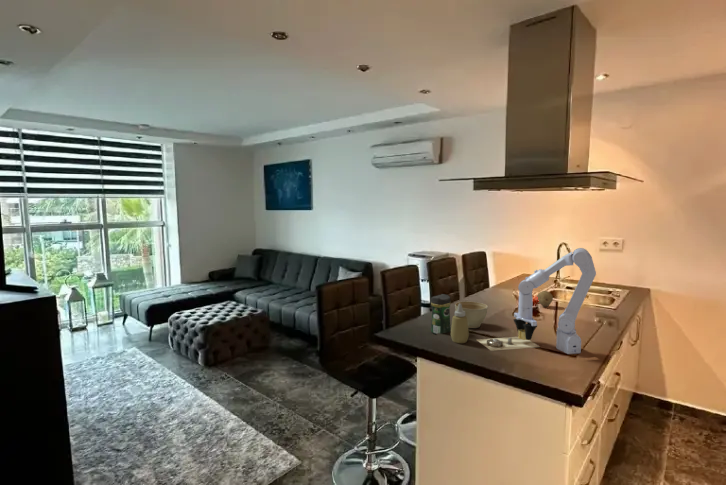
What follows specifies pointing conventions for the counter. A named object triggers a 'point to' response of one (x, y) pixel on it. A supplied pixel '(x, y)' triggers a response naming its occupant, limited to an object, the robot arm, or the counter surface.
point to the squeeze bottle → (459, 326)
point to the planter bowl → (473, 312)
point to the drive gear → (495, 343)
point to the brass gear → (521, 334)
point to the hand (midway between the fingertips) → (524, 337)
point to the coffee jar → (440, 314)
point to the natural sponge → (545, 298)
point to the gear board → (505, 340)
